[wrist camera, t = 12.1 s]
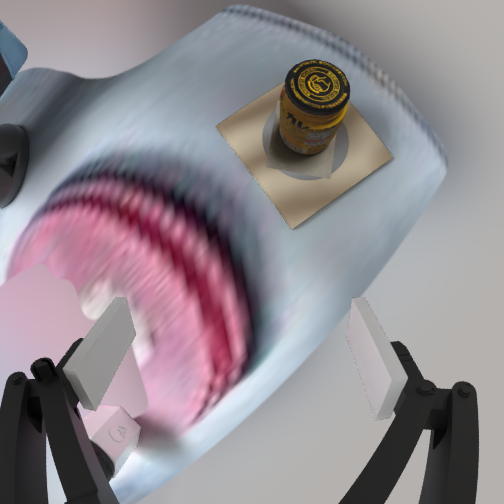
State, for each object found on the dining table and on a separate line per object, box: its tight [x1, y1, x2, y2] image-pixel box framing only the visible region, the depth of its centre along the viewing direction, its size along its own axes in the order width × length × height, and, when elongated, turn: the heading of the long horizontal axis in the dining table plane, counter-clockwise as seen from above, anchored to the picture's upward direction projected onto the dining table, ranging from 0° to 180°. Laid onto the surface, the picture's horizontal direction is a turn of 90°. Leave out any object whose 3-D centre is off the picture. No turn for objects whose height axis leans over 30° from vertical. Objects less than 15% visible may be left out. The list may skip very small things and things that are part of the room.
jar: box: [82, 405, 141, 482], centre depth 32 cm, size 9×8×12 cm
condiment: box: [266, 59, 350, 179], centre depth 26 cm, size 7×8×12 cm
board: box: [216, 82, 393, 229], centre depth 33 cm, size 15×15×1 cm
